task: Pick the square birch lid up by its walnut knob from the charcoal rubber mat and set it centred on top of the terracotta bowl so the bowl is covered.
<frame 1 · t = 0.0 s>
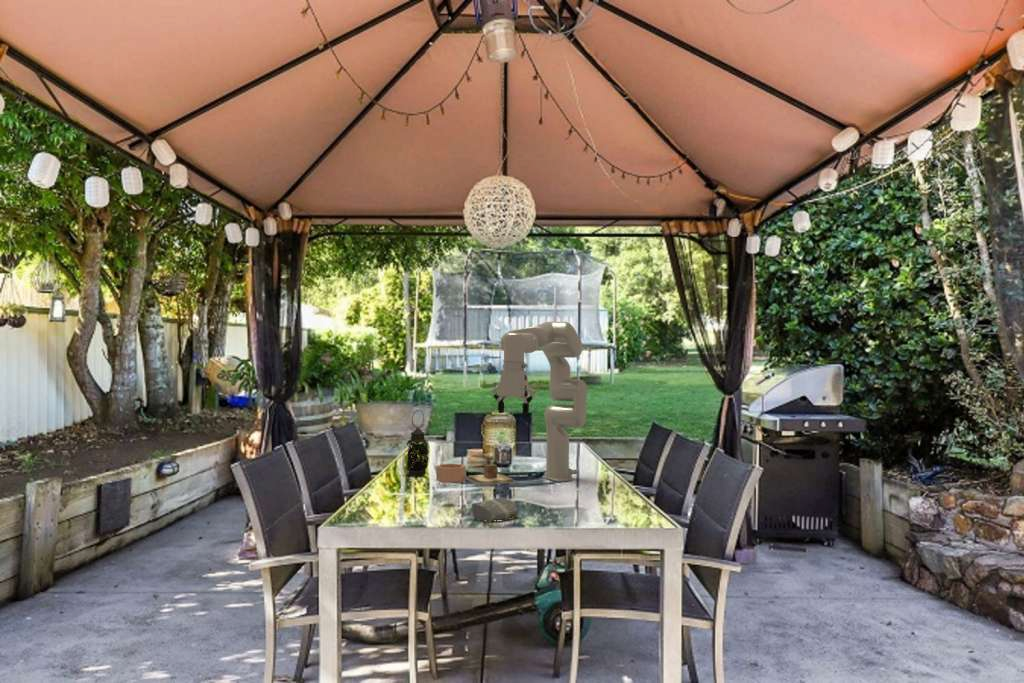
hand: (513, 413, 265), 31 cm above the table, tool pointing down, fingers open, 9 cm apart
decorative stone: (495, 519, 234), on the table
mat: (490, 482, 297), on the table
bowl: (450, 482, 296), on the table
lantern: (417, 475, 310), on the table
lid: (490, 479, 297), point 1 cm above the table, touching mat
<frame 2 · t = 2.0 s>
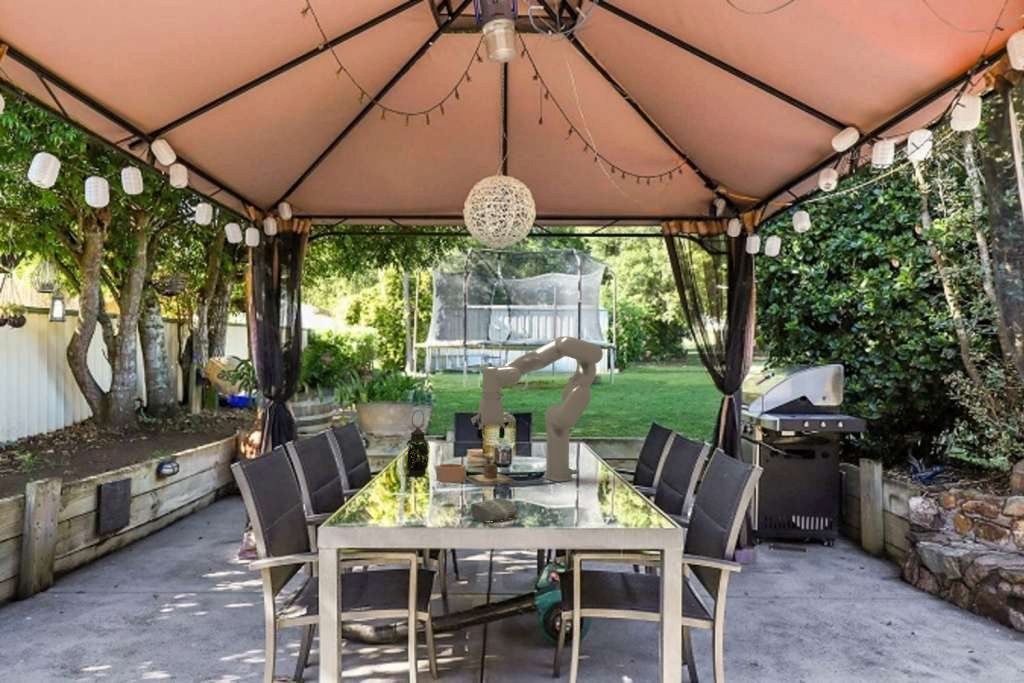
hand: (490, 438, 297), 18 cm above the table, tool pointing down, fingers open, 9 cm apart
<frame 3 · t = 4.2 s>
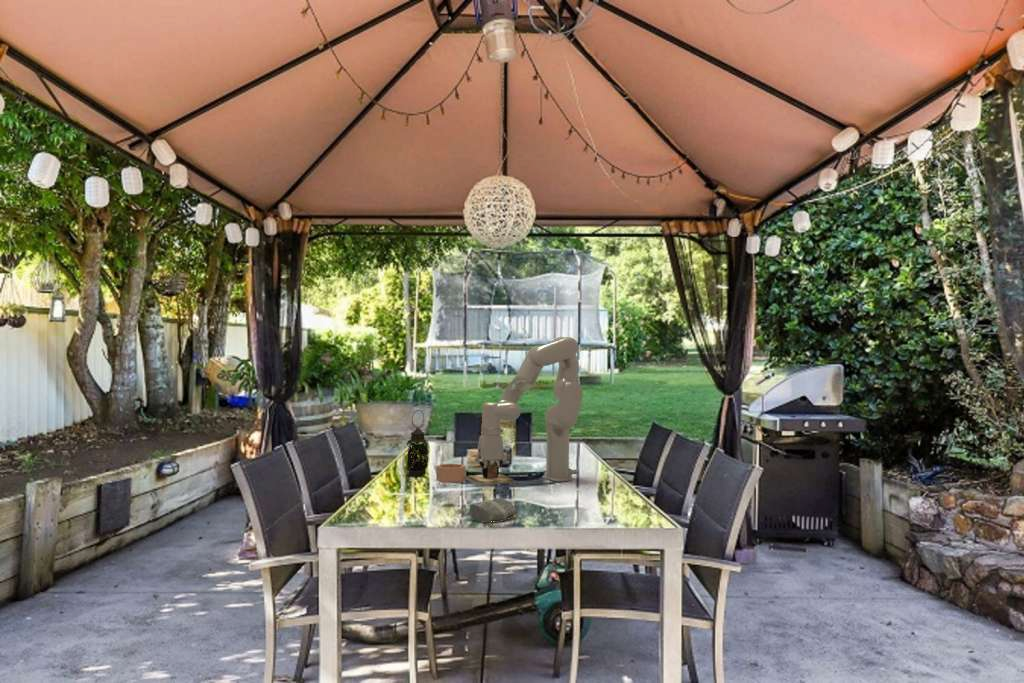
hand: (490, 476, 297), 2 cm above the table, tool pointing down, fingers closed on lid, 4 cm apart
lid: (490, 479, 297), point 1 cm above the table, touching gripper, mat
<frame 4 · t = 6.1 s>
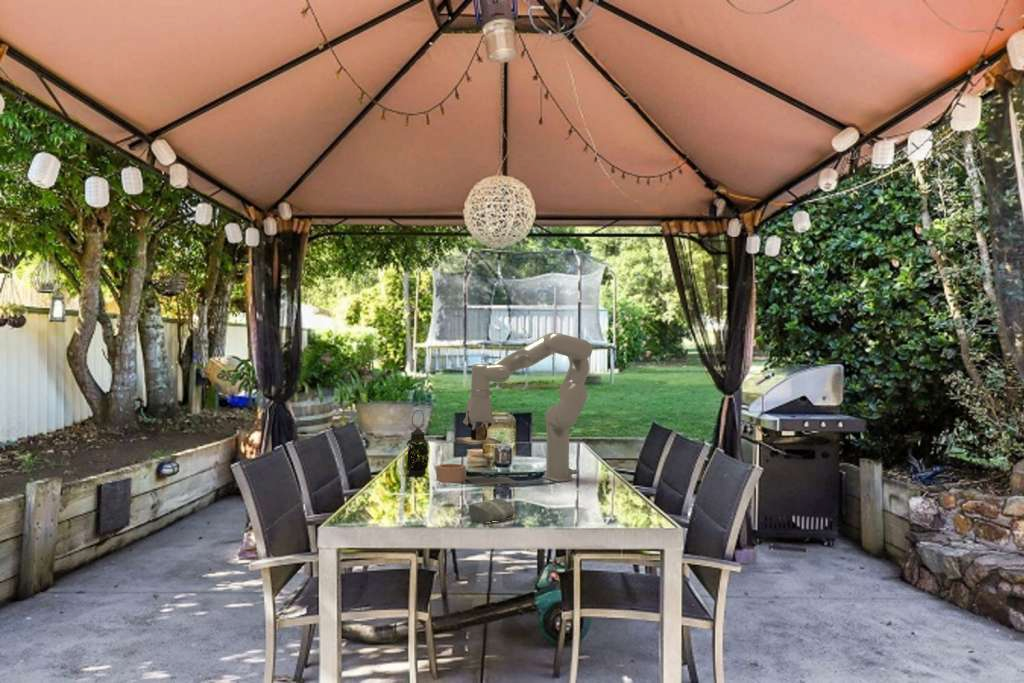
hand: (478, 438, 296), 18 cm above the table, tool pointing down, fingers closed on lid, 4 cm apart
lid: (478, 441, 296), point 17 cm above the table, touching gripper
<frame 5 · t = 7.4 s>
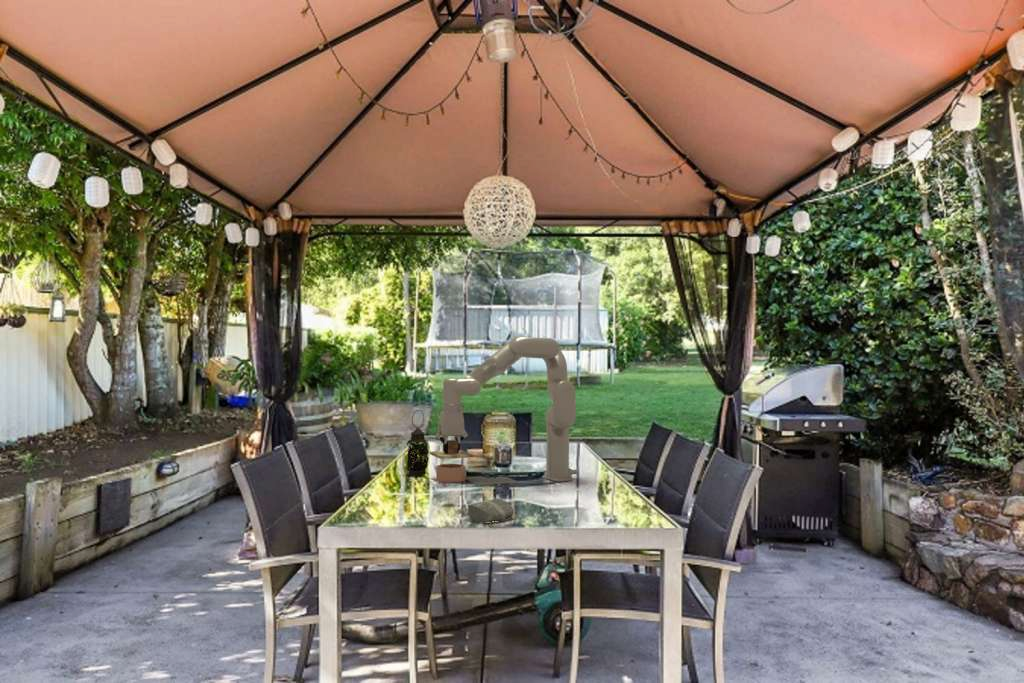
hand: (451, 452, 296), 12 cm above the table, tool pointing down, fingers closed on lid, 4 cm apart
lid: (451, 455, 296), point 11 cm above the table, touching gripper
when the fingers open (10 cm above the table, at t = 8.2 s): lid drops 2 cm, resting on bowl.
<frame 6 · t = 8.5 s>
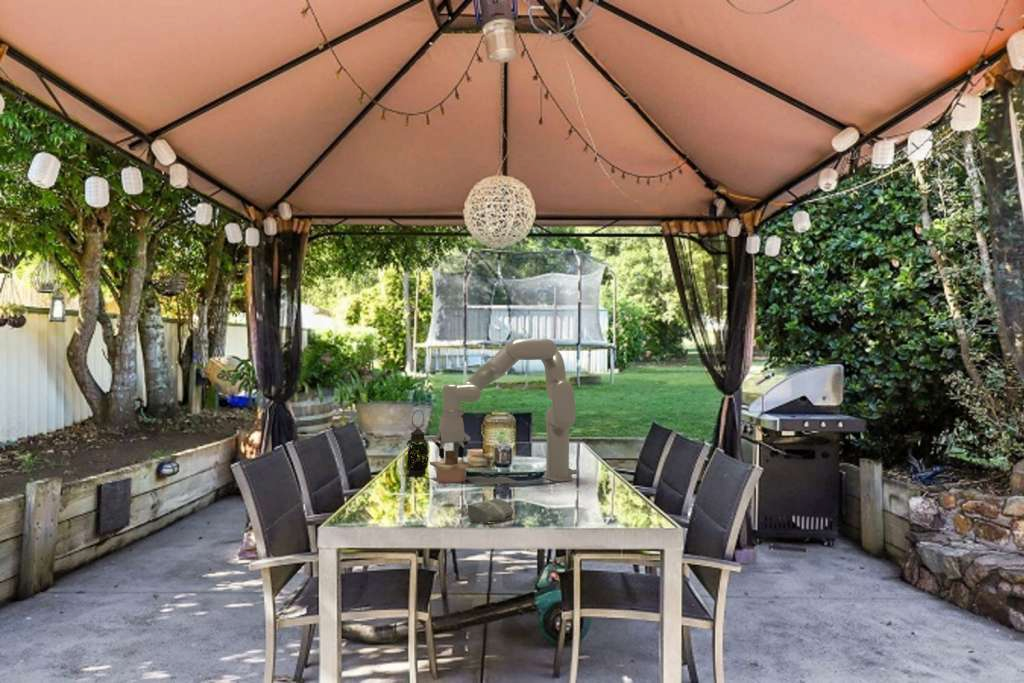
hand: (451, 457, 296), 10 cm above the table, tool pointing down, fingers open, 7 cm apart
lid: (451, 465, 296), point 7 cm above the table, touching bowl
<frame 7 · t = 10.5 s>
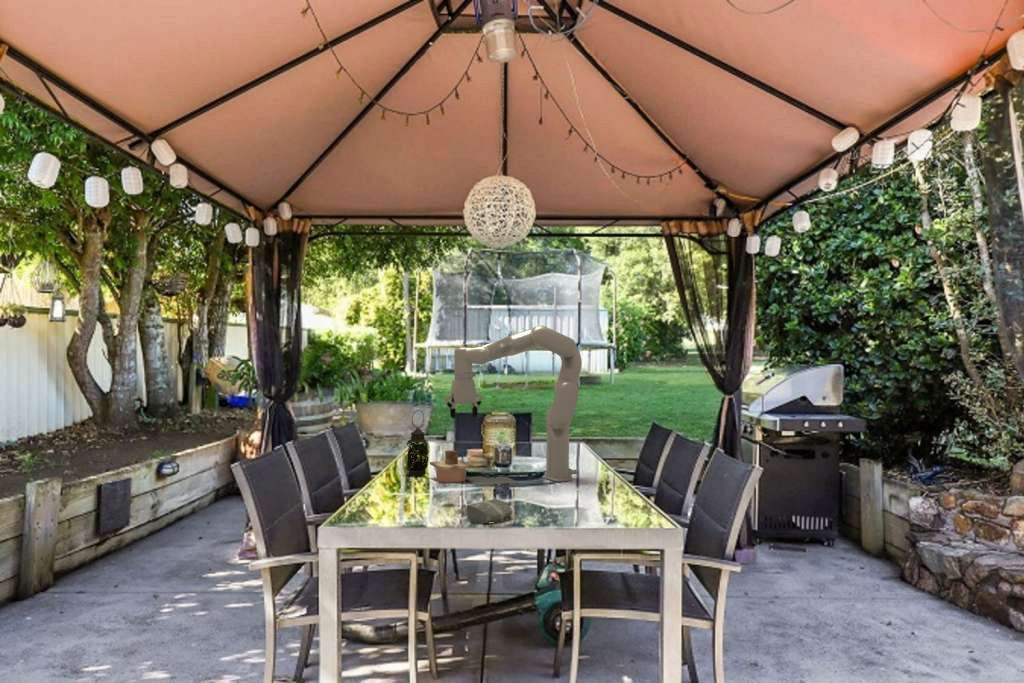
hand: (464, 417, 303), 26 cm above the table, tool pointing down, fingers open, 9 cm apart
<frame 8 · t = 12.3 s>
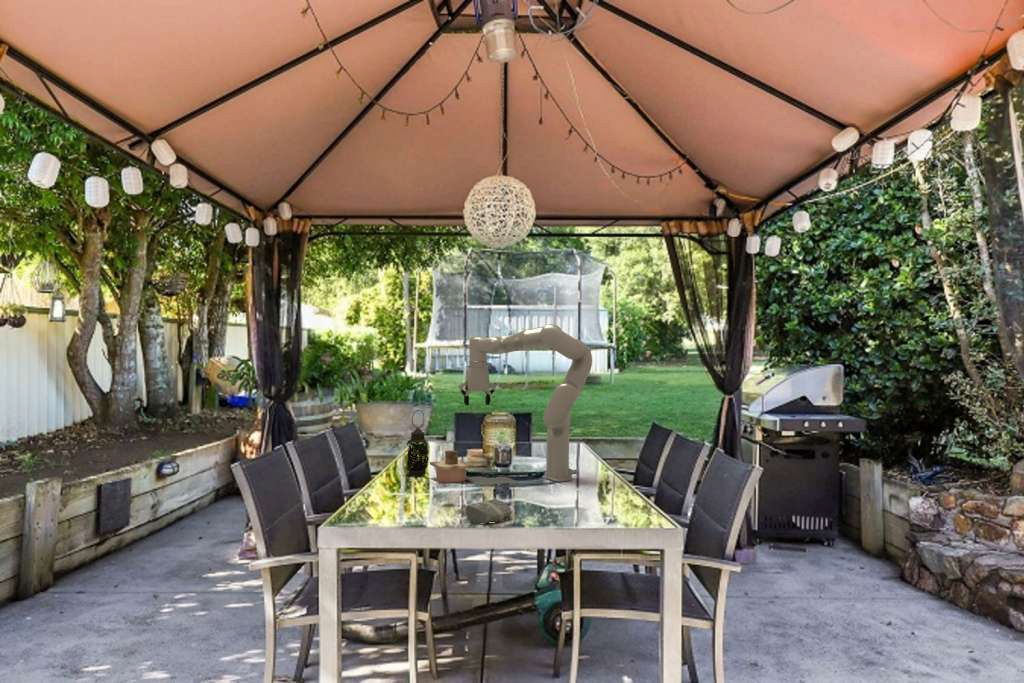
hand: (477, 404, 314), 30 cm above the table, tool pointing down, fingers open, 9 cm apart
at the end: lid 0.1 cm off-centre on the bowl, point 6.6 cm above the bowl's base; lid tilted 0°; the gripper is holding nothing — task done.
